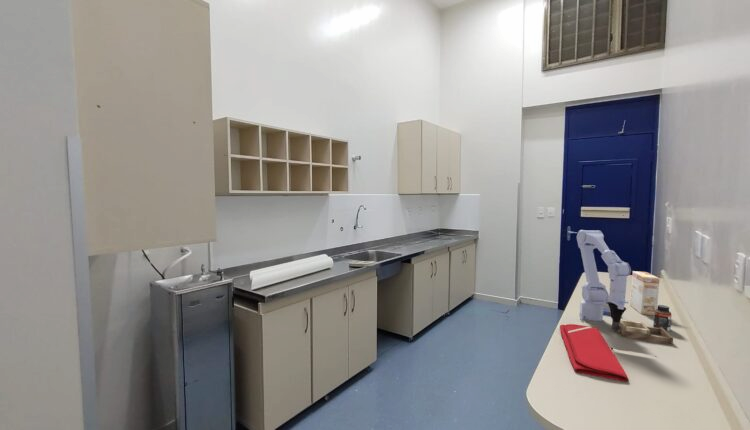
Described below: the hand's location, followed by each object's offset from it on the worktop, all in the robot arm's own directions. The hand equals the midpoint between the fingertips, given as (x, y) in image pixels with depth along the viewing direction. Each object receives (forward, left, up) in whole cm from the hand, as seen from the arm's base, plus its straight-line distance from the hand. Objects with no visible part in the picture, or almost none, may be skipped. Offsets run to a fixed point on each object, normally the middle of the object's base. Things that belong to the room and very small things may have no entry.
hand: (615, 320), depth 149 cm
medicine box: (+3, +29, -6) cm, 30 cm away
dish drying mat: (-14, -25, -7) cm, 29 cm away
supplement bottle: (+21, +14, -6) cm, 26 cm away
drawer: (+5, 0, -5) cm, 7 cm away
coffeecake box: (+21, +44, -6) cm, 49 cm away
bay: (+9, 0, -6) cm, 11 cm away
